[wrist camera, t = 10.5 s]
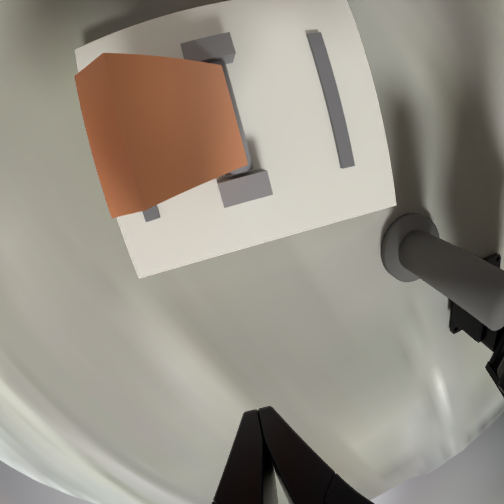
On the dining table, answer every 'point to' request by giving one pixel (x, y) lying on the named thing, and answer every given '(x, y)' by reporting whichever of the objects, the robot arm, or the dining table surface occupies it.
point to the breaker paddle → (159, 127)
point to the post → (444, 268)
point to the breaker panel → (267, 127)
